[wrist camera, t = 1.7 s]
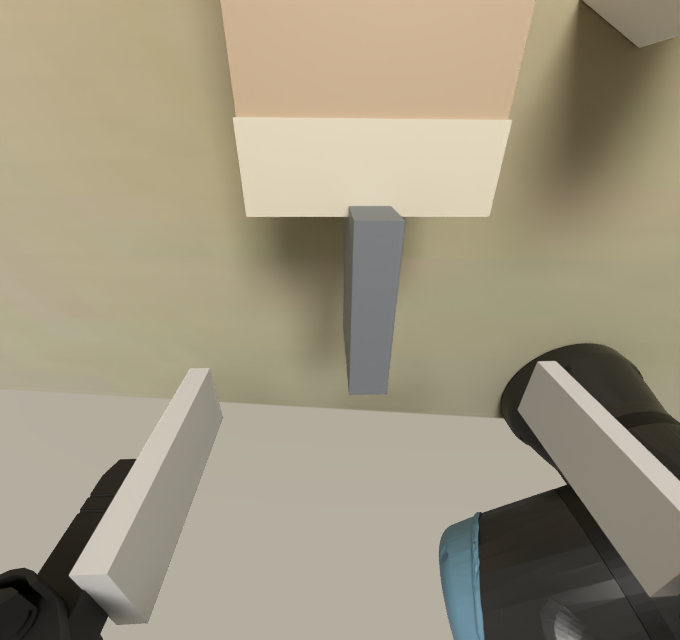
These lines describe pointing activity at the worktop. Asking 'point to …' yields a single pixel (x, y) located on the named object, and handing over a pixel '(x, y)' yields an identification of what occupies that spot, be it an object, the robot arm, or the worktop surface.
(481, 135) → the flap
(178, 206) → the worktop surface
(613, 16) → the milk
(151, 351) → the worktop surface
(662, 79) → the worktop surface
